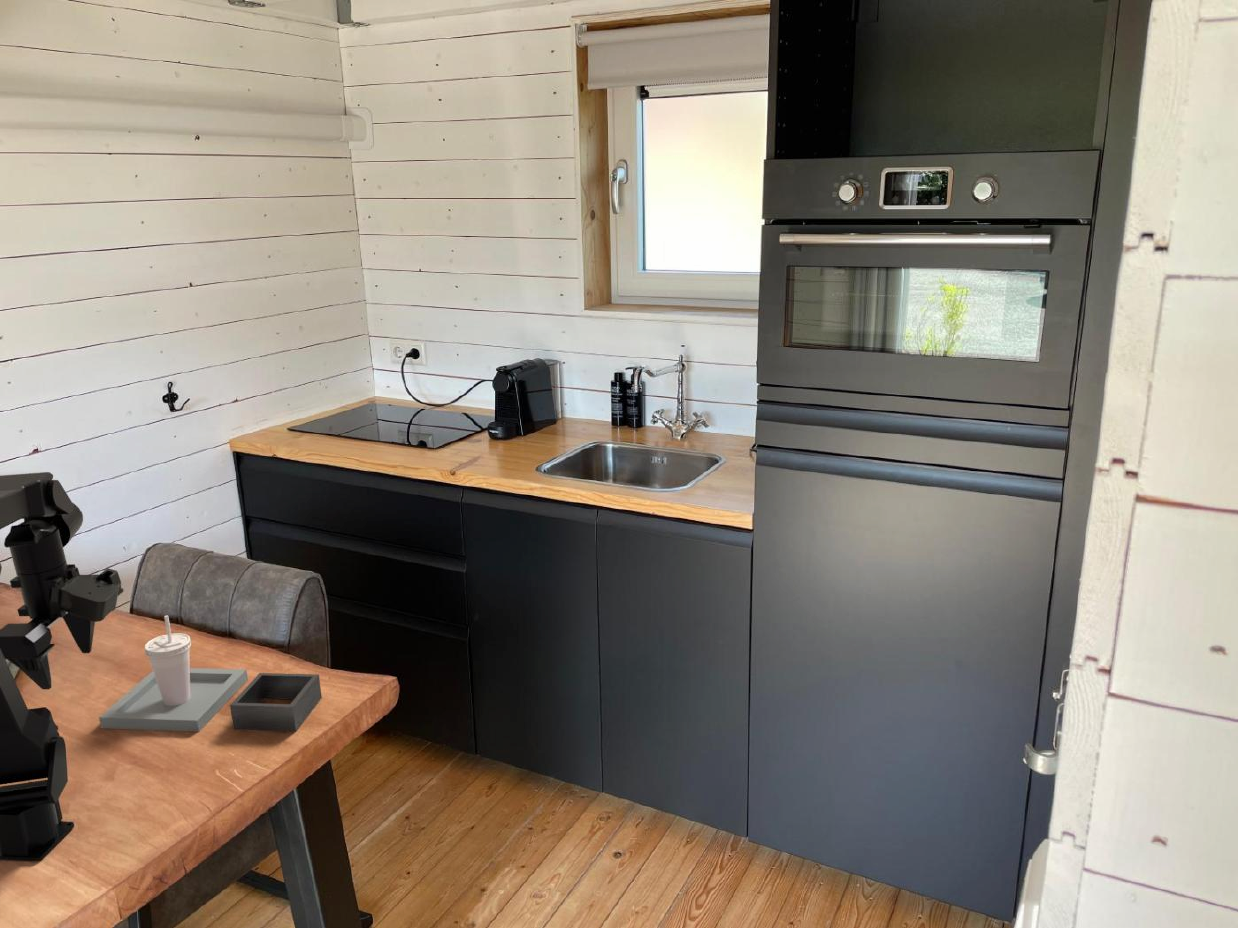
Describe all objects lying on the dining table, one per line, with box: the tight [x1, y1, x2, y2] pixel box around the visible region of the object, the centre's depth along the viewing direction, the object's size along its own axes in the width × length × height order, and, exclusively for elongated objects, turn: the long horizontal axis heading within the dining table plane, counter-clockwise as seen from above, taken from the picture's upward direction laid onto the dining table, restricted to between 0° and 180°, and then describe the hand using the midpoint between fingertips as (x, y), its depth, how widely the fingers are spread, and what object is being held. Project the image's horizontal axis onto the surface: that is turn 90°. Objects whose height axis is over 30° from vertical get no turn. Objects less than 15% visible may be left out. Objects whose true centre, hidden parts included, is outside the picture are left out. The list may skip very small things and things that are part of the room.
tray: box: [98, 667, 248, 732], centre depth 142 cm, size 15×15×2 cm
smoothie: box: [144, 615, 192, 706], centre depth 140 cm, size 6×6×14 cm
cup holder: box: [229, 672, 322, 733], centre depth 138 cm, size 9×9×4 cm
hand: (67, 670), depth 126 cm, fingers open, 9 cm apart
